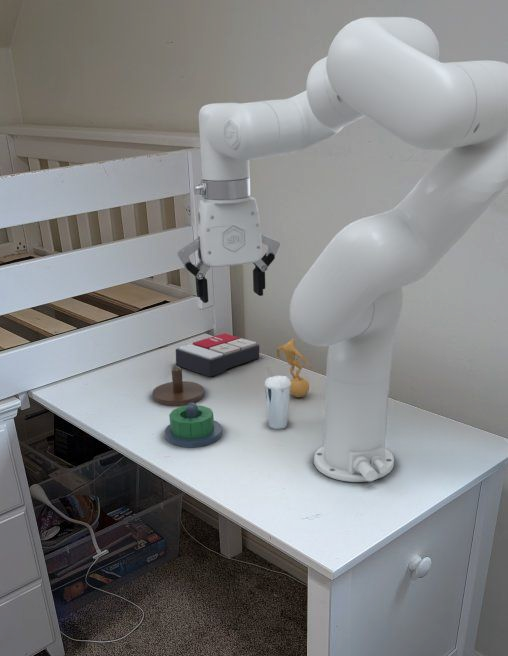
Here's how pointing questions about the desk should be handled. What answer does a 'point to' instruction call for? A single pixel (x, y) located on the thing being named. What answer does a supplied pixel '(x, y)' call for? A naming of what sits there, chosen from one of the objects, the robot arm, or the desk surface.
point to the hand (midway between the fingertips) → (231, 297)
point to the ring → (191, 423)
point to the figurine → (297, 383)
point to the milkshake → (277, 400)
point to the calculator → (216, 354)
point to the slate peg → (197, 442)
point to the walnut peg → (178, 391)
